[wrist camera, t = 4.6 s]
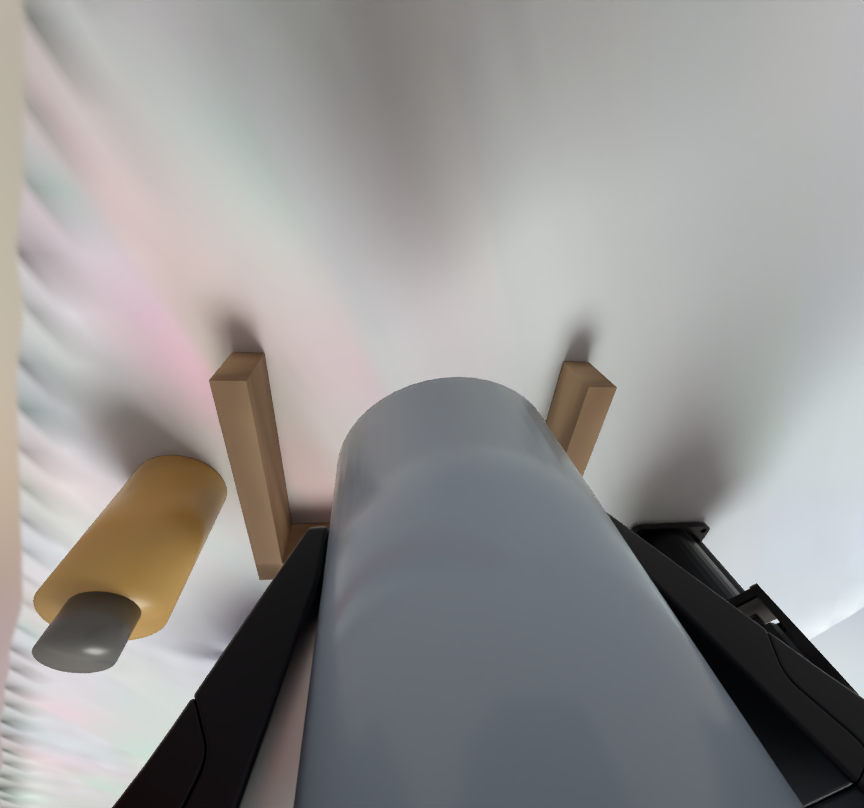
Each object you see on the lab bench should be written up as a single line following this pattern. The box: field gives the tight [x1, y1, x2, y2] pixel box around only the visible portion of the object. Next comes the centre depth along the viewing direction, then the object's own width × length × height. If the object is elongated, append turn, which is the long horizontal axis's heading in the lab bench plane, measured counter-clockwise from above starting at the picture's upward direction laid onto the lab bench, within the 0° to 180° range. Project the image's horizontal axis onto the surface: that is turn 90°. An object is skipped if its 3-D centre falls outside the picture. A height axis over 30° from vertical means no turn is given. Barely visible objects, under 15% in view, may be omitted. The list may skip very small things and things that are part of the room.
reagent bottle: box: [32, 455, 227, 673], centre depth 19 cm, size 5×5×9 cm
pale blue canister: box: [293, 377, 804, 808], centre depth 8 cm, size 6×9×8 cm
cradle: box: [209, 352, 617, 580], centre depth 22 cm, size 19×14×3 cm
